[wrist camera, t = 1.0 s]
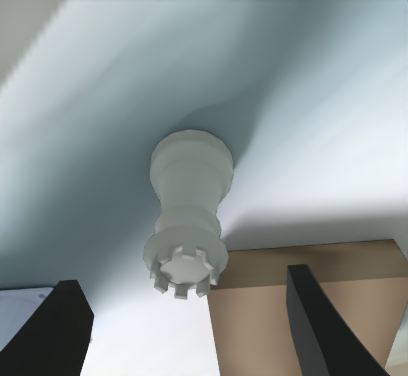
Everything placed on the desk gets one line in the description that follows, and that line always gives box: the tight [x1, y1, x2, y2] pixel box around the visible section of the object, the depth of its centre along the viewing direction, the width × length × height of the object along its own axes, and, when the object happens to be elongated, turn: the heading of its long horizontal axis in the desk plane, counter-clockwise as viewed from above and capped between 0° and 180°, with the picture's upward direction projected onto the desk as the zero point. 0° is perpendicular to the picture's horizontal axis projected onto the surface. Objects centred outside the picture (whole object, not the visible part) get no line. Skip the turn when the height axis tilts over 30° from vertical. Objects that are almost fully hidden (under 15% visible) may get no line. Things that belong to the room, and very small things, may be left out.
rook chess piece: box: [143, 129, 234, 300], centre depth 16 cm, size 4×4×8 cm
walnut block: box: [207, 239, 408, 376], centre depth 25 cm, size 12×12×3 cm
